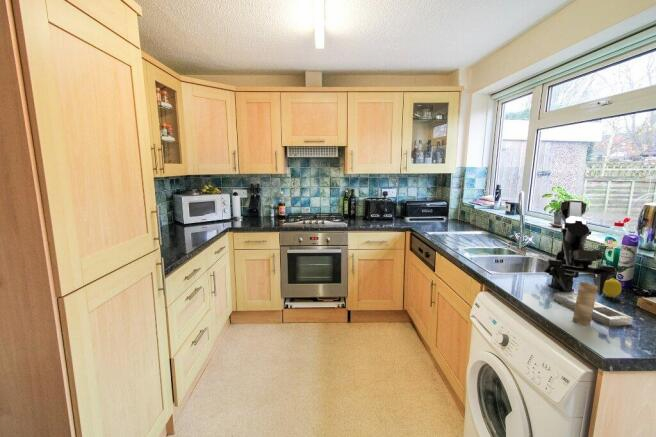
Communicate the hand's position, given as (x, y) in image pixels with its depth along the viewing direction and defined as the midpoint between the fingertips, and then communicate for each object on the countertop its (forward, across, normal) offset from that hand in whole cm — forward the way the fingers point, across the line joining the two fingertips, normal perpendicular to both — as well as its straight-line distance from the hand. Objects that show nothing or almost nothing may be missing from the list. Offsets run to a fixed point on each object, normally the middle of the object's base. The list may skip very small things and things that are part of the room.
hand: (583, 292), depth 97 cm
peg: (+8, 0, +5) cm, 10 cm away
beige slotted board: (0, +6, +13) cm, 14 cm away
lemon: (-12, +20, +26) cm, 35 cm away
